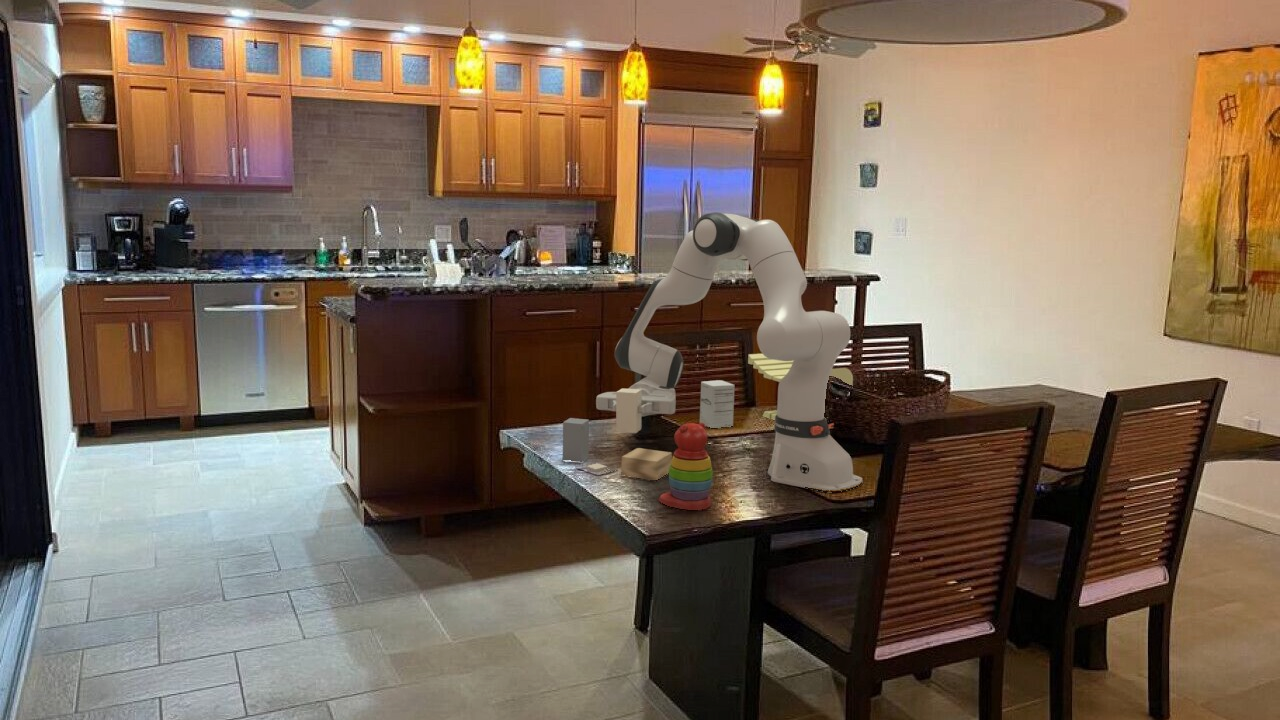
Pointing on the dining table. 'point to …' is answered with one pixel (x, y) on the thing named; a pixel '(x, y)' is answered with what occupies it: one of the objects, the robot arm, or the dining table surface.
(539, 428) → the dining table surface
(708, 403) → the supplement box
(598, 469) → the card
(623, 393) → the cream block
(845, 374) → the slatted curved stool
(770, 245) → the robot arm
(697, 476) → the stacking bear
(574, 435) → the grey block
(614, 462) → the dining table surface
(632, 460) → the oak pedestal
